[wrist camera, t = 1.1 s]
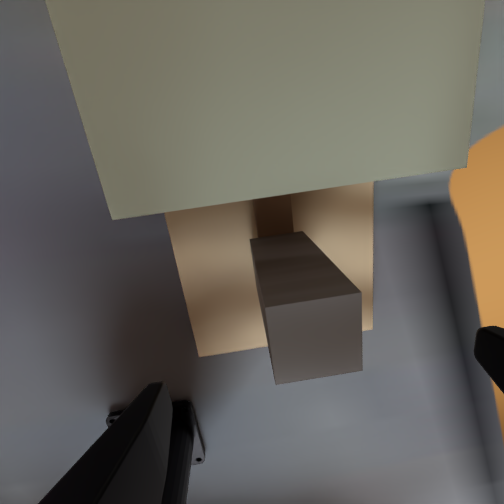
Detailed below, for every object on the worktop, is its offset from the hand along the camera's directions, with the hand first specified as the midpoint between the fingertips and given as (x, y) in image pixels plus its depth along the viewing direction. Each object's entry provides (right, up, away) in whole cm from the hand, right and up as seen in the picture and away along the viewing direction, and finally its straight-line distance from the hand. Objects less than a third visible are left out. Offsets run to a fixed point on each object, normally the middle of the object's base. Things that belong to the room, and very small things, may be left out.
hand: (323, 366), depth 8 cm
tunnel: (-2, +11, +6) cm, 12 cm away
